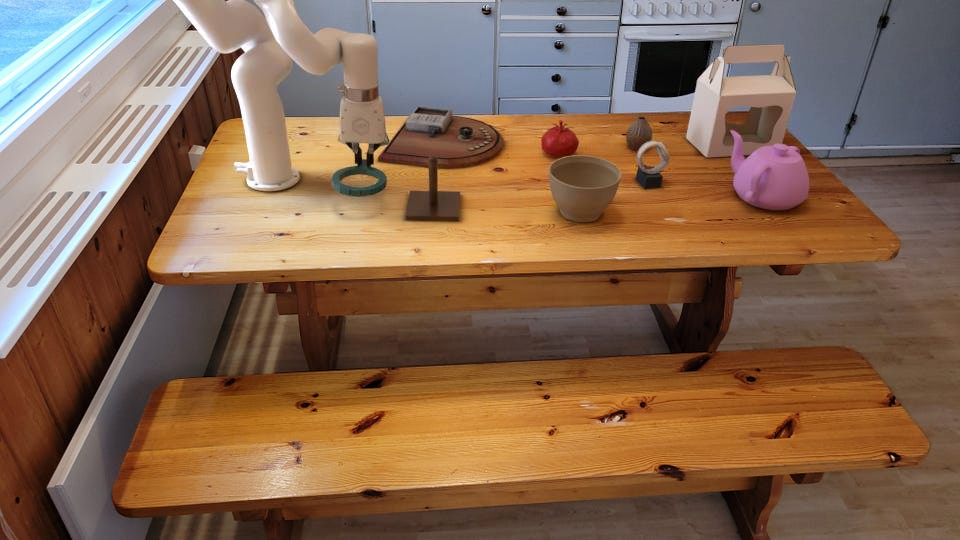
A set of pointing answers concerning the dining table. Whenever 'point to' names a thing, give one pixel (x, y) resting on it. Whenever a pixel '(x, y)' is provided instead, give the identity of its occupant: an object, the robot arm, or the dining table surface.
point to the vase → (639, 133)
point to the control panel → (442, 140)
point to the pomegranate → (559, 141)
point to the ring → (359, 170)
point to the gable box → (742, 102)
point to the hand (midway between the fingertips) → (364, 166)
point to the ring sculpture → (651, 175)
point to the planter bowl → (583, 186)
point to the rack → (433, 200)
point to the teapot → (770, 175)
